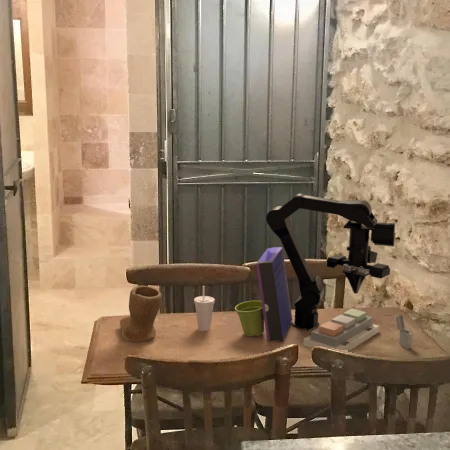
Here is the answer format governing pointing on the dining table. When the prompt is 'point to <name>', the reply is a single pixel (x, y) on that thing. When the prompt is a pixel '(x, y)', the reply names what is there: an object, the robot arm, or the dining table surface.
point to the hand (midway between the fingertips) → (355, 293)
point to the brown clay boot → (141, 314)
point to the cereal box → (274, 293)
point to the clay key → (331, 328)
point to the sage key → (355, 315)
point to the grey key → (344, 321)
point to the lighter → (403, 332)
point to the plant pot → (251, 317)
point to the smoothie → (204, 311)
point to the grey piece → (344, 336)
